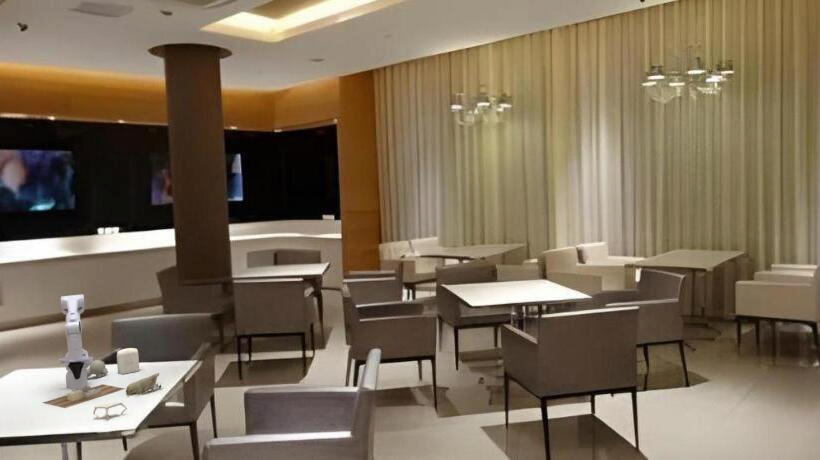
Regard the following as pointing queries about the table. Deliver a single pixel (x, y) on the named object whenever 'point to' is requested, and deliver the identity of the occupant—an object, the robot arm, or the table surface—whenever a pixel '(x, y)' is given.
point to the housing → (90, 392)
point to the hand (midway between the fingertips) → (77, 378)
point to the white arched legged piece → (108, 408)
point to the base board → (66, 403)
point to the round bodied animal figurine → (97, 369)
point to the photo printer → (127, 361)
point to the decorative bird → (142, 385)
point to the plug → (75, 394)
